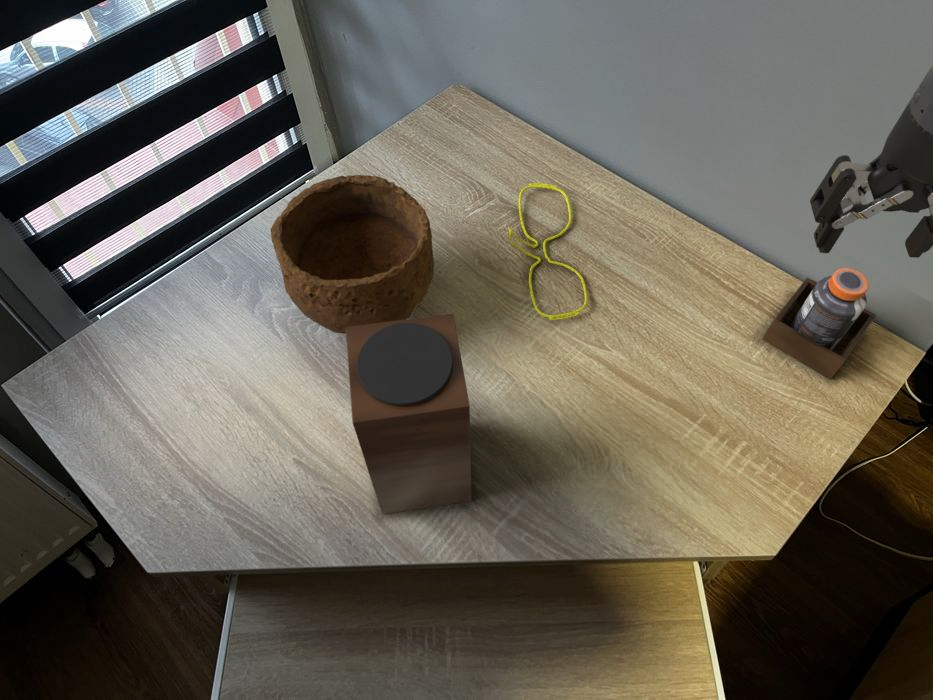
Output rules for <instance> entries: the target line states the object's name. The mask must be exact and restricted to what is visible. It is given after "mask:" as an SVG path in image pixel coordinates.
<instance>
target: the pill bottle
mask: <svg viewBox="0 0 933 700" xmlns="http://www.w3.org/2000/svg"><path fill="white" fill-rule="evenodd" d="M869 284H870V283H869V280H868V278H867V276H866V275H865V274H864V273H862V272H861V271H859V270H856V269H854V268H850V267H842V268H839V269H837V270H835V271H834V273H833V274H832V275H828V276H825V277H823V278H821V279H819V281H818V282H817V284H816V285H815V287H814V288H813V290H812V292H811V293H810V295H809V296H808V298H807V299H806V301H805V303H804V304H802V306H800V307H801V308H800V309H799V310H798V312H797V313H796V315H795V317H794V318H793V320H792V321H791V323H790V325H789V327H791V328H793V329H794V330H796V331H798V332H799V333H801V334H803V335H805V336H806V337H808V338H810V339H812V340H813V341H815V342H817V343H819V344H820V345H822V346H824V347H825V348H827V349H829V350H831V351H832V352H833V350H834V349H836V348H837V346H838V344H840V342H841V340H842V339H843V338H844V336H845V335H846V334H847V333H848V331H850V330H849V328H850V327H851V326H852V325H853V323H854V322H855V321H856V319H857V318H858V317H859V315H860V314H861V312H862V311H863V310H864V308H865V309H866V306H867V295H866V293H867V292H868V289H869V286H870V285H869Z"/></svg>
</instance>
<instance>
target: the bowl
mask: <svg viewBox="0 0 933 700" xmlns="http://www.w3.org/2000/svg"><path fill="white" fill-rule="evenodd" d="M430 221H431V220H430V219H429V217H428V215H427V212H426V209H425V208H424V207H423V205H421V204H420V203H419V202H418V200H417V199H416V198H415V197H413V196H412V195H411V194H410V193H409V192H407V191H406V190H405V189H404V188H403V187H401V186H398V185H396V184H395V182H394V181H388V179H387V178H384V177H381V176H377V175H369V174H367V175H364V174H363V175H362V174H354V175H353V174H351V175H346V176H345V175H339V176H335V177H332V178H327V179H324V180H321V181H319V182H316V183H312V184H311V185H310V186H309V187H308V188H304V189H303V190H302V191H300V193H298V194H297V195H296V196H293V197H292V198H291V200H290V201H288V203H287V206H286V208H285V209H283V210H282V212H281V214H280V215H278V216H277V217H276V218H275V220H274V222H273V224H272V225H271V227H270V238H271V243H272V244H273V245H272V246H273V249H274V252H275V256H276V260H277V261H278V263H279V267H280V270H281V273H282V279H283V285H284V290H285V292H286V294H287V295H288V296H289V298H290V300H291V302H292V303H293V304H294V305H295V306H296V307H297V308H298V309H299V310H300V312H301V313H302V314H303V315H304V316H305V317H306V318H308V319H309V320H311V321H312V322H314V323H316V324H318V325H319V326H321V327H323V328H325V329H327V330H329V331H331V332H333V333H335V334H344V335H346V327H351V326H359V325H367V324H374V323H382V322H389V321H397V320H405V319H409V318H410V317H411V316H412V315H413V314H414V312H415V310H416V309H417V307H418V306H419V305H420V304H421V303H422V301H423V300H424V299H425V297H426V295H427V294H428V291H429V288H430V287H431V286H432V285H431V284H432V282H433V279H434V271H435V259H434V251H433V233H432V228H431V222H430Z"/></svg>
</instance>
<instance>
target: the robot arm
mask: <svg viewBox="0 0 933 700" xmlns="http://www.w3.org/2000/svg"><path fill="white" fill-rule="evenodd" d="M816 188H817V189H815V191H814V193H813V194H812V196H811V198H810V200H809V204H810V207H811V211H812V214H813V218H814V221H815V223H818V226H817V227H816V229H815V231H814V233H813V238H814V242H815V246H816V248H817V249H818V251H819V253H820V254H829V253H830V252H831V251H832V249H833V248H834V246H835V244H836V243H837V241H838V240H839V239H840V237H841V235H842V233H843V232H844V230H845V227H846V226H848V225H849V224H852V223H855V222H856V221H857V220H860V219H862V220H868V219H870V218H872V217H873V216H875V215H878V214H879V213H881V212H888V213H889V212H899V211H903V212H907V213H911V214H912V213H917V214H918V213H920V211H923V210H926V209H928V211H929V214H930V215H923V216H922V218H921V219H920V220H919V222H918V223H917V224H916V225H915V227H914V229H913V230H912V231H911V232H910V234H909V235H908V236H907V238H906V239H905V241H904V246H905V250H906V252H907V255H908V257H909V258H914V259H915V258H917V259H918V258H920V257H921V256H922V255H923V253H924V254H925V253H927V252H928V251H930V250H931V249H932V247H933V64H932V65H931V66H930V68H929V69H928V70H927V73H926V74H925V75H924V77H923V78H922V80H921V82H920V83H919V85H918V87H917V88H916V90H915V91H914V92H913V95H912V97H911V98H910V100H909V102H908V103H907V105H906V106H905V108H904V110H903V111H902V112H901V114H900V116H899V118H898V119H897V121H896V123H895V124H894V126H893V128H892V129H891V131H890V132H889V133H888V136H887V138H886V140H885V143H884V145H883V148H882V151H881V152H880V154H879V155H878V156H877V157H875V158H874V159H873V160H871V161H870V162H869V163H868V164H867V163H856V162H852V159H851V157H850V156H849V155H846V154H844V155H840V156H838V157H837V158H836V159H835V160H834V162H833V163H832V165H831V166H830V168H829V169H828V171H827V172H826V174H825V176H824V177H823V179H822V180H821V182H820V183H819V184H818V186H817V187H816ZM868 192H870V193H871V196H872V199H873V200H871V201H870V202H868V203H867V200H866V194H867V193H868ZM849 206H852V207H851V208H850V209H848V210H846V211H844V210H845V209H846V208H848V207H849Z"/></svg>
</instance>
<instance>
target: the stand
mask: <svg viewBox="0 0 933 700" xmlns="http://www.w3.org/2000/svg"><path fill="white" fill-rule="evenodd" d="M399 323H416V324H421V325H424V326H427V327H429V328H431V329H433V330H435V331H436V332H438V333H439V334H440V335H441V336H442V337H443V338H444V339H445V340H446V342H447V343H448V345H449V347H450V350H451V353H452V360H453V367H452V373H451V376H450V378H449V380H448V382H447V384H446V385H445V387H444V388H443V389H442V390H441V391H440V392H439V393H438V394H437V395H436V396H434V397H433V398H431V399H430V400H428V401H425V402H423V403H420V404H417V405H413V406H393V405H388V404H385V403H383V402H380V401H378V400H377V399H375V398H373V397H372V396H371V395H370V394H369V393H368V392H367V391H366V390H365V389H364V387H363V386H362V384H361V382H360V379H359V376H358V371H357V360H358V356H359V353H360V350H361V348H362V347H363V345H364V344H365V342H366V341H367V340H368V339H369V338H370V337H371V336H372V335H373V334H375V333H376V332H377V331H379V330H381V329H383V328H385V327H387V326H390V325H394V324H399ZM345 337H346V353H347V365H348V378H349V379H348V380H349V395H350V408H351V422H352V426H353V429H354V433H355V435H356V438H357V441H358V444H359V447H360V450H361V452H362V456H363V459H364V462H365V465H366V468H367V472H368V474H369V478H370V481H371V484H372V487H373V491H374V493H375V496H376V499H377V502H378V506H379V508H380V511H381V515H388V514H396V513H402V512H408V511H415V510H421V509H429V508H435V507H439V506H441V507H442V506H447V505H453V504H454V505H455V504H460V503H466V502H467V503H468V502H472V501H473V499H472V498H473V497H472V453H471V452H472V451H471V448H472V447H471V446H472V445H471V406H470V405H471V404H470V400H469V394H468V388H467V382H466V376H465V372H464V371H465V370H464V366H463V361H462V355H461V354H462V353H461V349H460V343H459V339H458V333H457V327H456V320H455V315H454V313H453V312H451V313H443V314H435V315H428V316H421V317H414V318H407V319H405V320H397V321H389V322H382V323H374V324H367V325H359V326H351V327H346V334H345Z"/></svg>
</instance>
